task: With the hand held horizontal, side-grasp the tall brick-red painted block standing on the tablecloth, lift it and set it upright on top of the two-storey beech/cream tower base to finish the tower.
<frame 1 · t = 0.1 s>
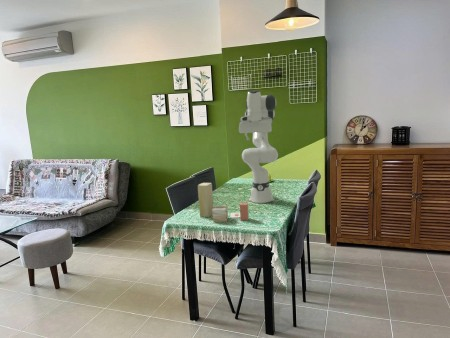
hand: (255, 139, 210), 48 cm above the table, tool pointing down, fingers open, 8 cm apart
instruction page: (236, 215, 219), on the table
tower base: (220, 219, 212), on the table
tall beige pillar: (206, 215, 222), on the table
tall brick: (244, 219, 210), on the table
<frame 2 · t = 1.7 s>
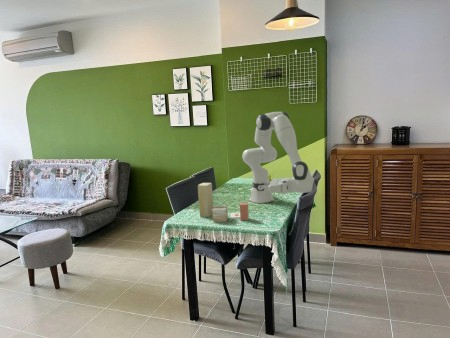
hand: (262, 185, 203), 22 cm above the table, tool horizontal, fingers open, 8 cm apart
nothing on the table moved.
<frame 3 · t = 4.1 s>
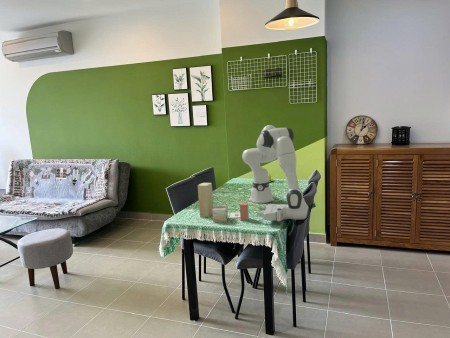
hand: (258, 211, 207), 5 cm above the table, tool horizontal, fingers open, 8 cm apart
nothing on the table moved.
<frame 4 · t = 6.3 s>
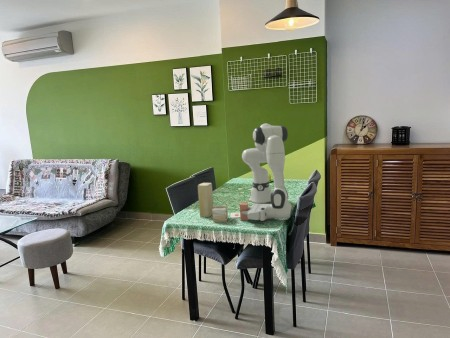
hand: (242, 210, 209), 6 cm above the table, tool horizontal, fingers closed on tall brick, 5 cm apart
tall brick: (244, 219, 210), on the table, touching gripper
everything else where it was.
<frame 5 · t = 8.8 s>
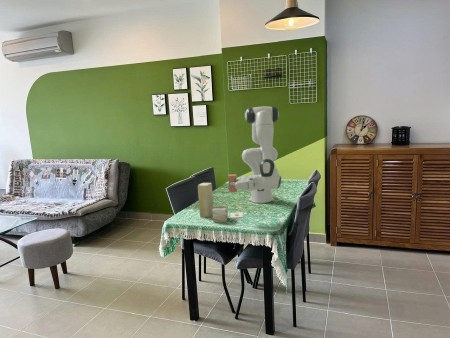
hand: (231, 182, 206), 24 cm above the table, tool horizontal, fingers closed on tall brick, 5 cm apart
tall brick: (233, 191, 207), point 18 cm above the table, touching gripper
everything else where it was.
when the fingers open (15 cm above the table, at t = 11.4 s): tall brick drops 1 cm, resting on tower base.
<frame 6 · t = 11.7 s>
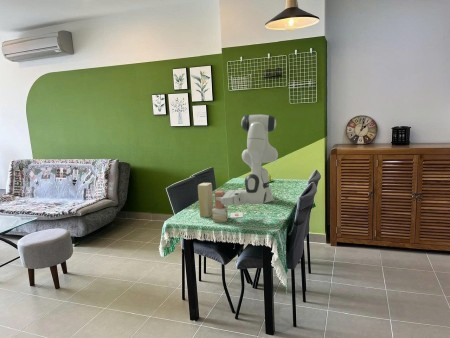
hand: (217, 196, 209), 15 cm above the table, tool horizontal, fingers open, 7 cm apart
tall brick: (219, 207, 210), point 8 cm above the table, touching tower base
everything else where it was.
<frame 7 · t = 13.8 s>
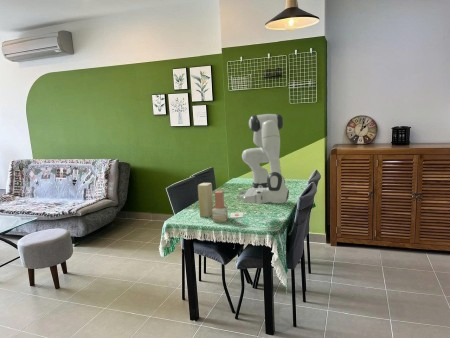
hand: (238, 194, 206), 16 cm above the table, tool horizontal, fingers open, 8 cm apart
nothing on the table moved.
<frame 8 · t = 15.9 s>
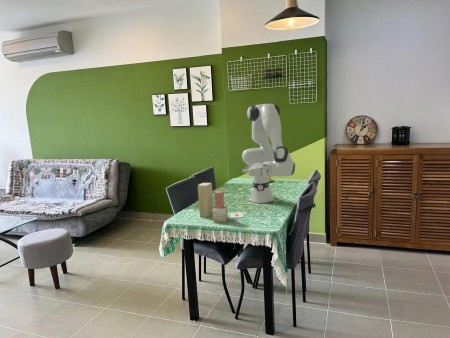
hand: (243, 169, 202), 32 cm above the table, tool horizontal, fingers open, 8 cm apart
nothing on the table moved.
at the end: tall brick 0.1 cm off-centre on the tower base, point 8.0 cm above the tower base's base; tall brick tilted 0°; the gripper is holding nothing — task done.
